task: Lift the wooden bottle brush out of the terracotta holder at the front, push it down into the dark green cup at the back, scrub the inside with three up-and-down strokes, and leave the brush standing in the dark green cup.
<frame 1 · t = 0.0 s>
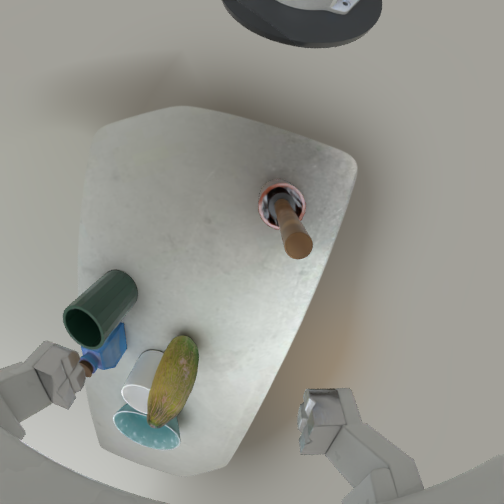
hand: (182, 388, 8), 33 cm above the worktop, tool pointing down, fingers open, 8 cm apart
brush: (278, 198, 38), point 1 cm above the worktop, touching holder
mug: (157, 369, 51), on the worktop
holder: (278, 197, 39), on the worktop
vegetable: (188, 337, 47), on the worktop
bowl: (155, 406, 55), on the worktop
perfume bottle: (112, 331, 48), on the worktop
cup: (119, 289, 45), on the worktop
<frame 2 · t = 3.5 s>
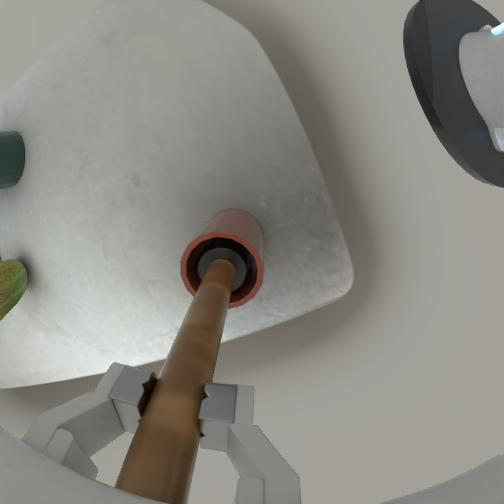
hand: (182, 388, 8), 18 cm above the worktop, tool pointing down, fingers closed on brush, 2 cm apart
brush: (232, 240, 25), point 1 cm above the worktop, touching gripper, holder
holder: (233, 238, 25), on the worktop
vegetable: (27, 270, 28), on the worktop
cup: (9, 159, 23), on the worktop
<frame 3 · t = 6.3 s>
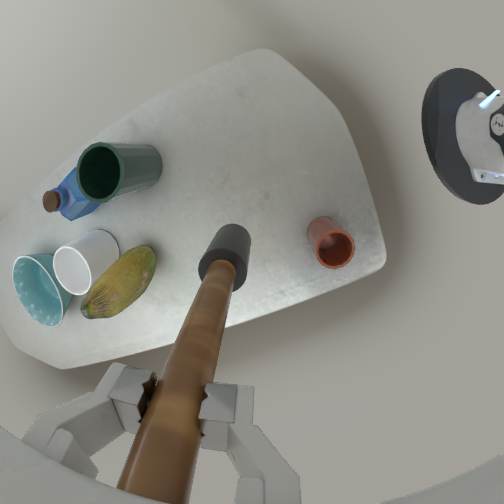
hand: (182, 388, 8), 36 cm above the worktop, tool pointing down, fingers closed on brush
brush: (232, 241, 25), point 19 cm above the worktop, touching gripper
mug: (96, 252, 46), on the worktop
holder: (323, 233, 43), on the worktop
vegetable: (152, 254, 46), on the worktop
bowl: (58, 276, 49), on the worktop
perfume bottle: (93, 189, 42), on the worktop
cup: (141, 166, 41), on the worktop
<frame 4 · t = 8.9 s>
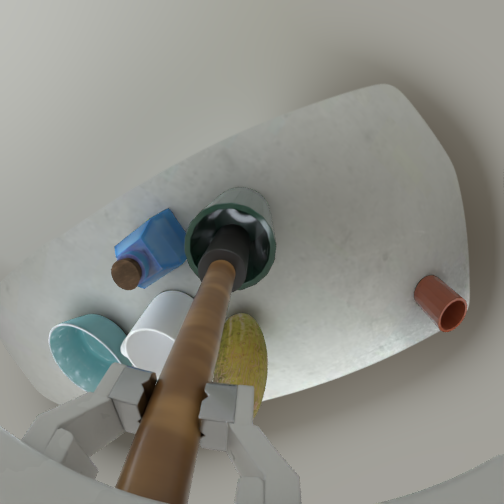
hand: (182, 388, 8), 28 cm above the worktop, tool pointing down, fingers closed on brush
brush: (232, 241, 25), point 11 cm above the worktop, touching gripper
mug: (167, 315, 40), on the worktop
holder: (427, 290, 37), on the worktop
vegetable: (246, 319, 40), on the worktop
bowl: (107, 337, 42), on the worktop
perfume bottle: (164, 239, 36), on the worktop
cup: (241, 216, 35), on the worktop
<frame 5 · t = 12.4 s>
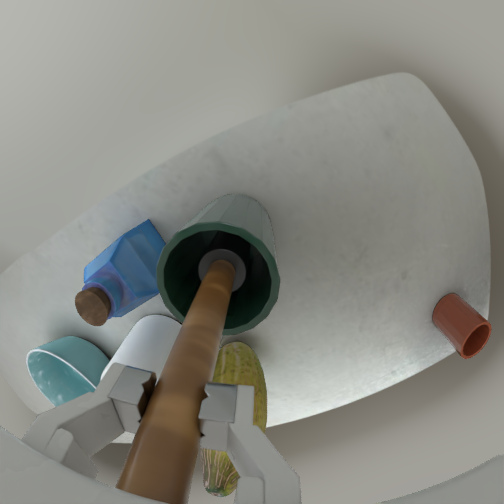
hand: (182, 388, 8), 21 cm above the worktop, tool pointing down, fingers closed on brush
brush: (232, 241, 25), point 4 cm above the worktop, touching gripper
mug: (152, 340, 34), on the worktop
holder: (446, 310, 31), on the worktop
vegetable: (243, 347, 33), on the worktop
bowl: (90, 359, 36), on the worktop
perfume bottle: (145, 256, 30), on the worktop
cup: (235, 229, 28), on the worktop
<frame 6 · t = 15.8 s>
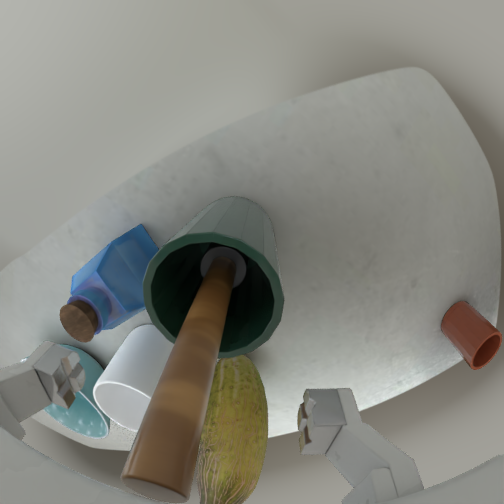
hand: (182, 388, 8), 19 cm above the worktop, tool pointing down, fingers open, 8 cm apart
brush: (233, 239, 25), point 1 cm above the worktop, touching cup
mug: (147, 351, 32), on the worktop
holder: (455, 318, 29), on the worktop
vegetable: (242, 359, 31), on the worktop
bowl: (84, 368, 34), on the worktop
perfume bottle: (138, 262, 28), on the worktop
cup: (234, 235, 26), on the worktop
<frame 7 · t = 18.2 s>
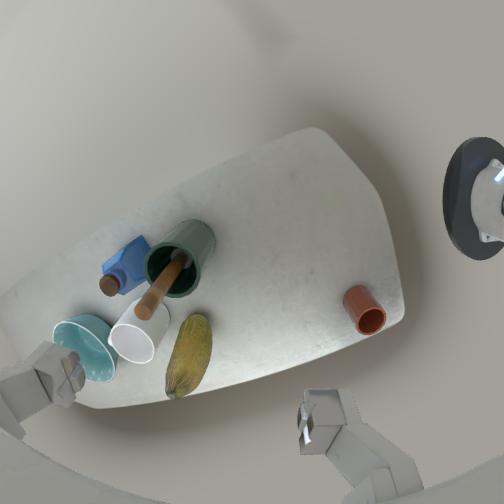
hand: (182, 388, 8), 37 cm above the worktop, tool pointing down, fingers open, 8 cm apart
brush: (192, 244, 45), point 1 cm above the worktop, touching cup
mug: (143, 315, 50), on the worktop
holder: (356, 299, 48), on the worktop
vegetable: (202, 319, 50), on the worktop
bowl: (98, 333, 52), on the worktop
perfume bottle: (139, 258, 47), on the worktop
cup: (193, 241, 45), on the worktop
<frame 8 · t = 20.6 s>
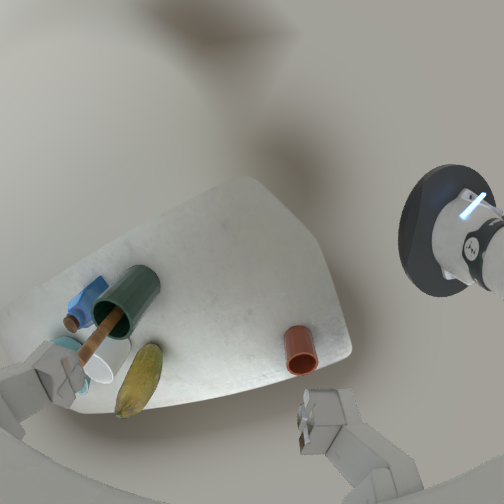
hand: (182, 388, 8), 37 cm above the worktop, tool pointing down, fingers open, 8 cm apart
brush: (140, 286, 48), point 1 cm above the worktop, touching cup
mug: (110, 340, 54), on the worktop
holder: (297, 337, 51), on the worktop
vegetable: (158, 347, 54), on the worktop
bowl: (77, 351, 56), on the worktop
perfume bottle: (101, 294, 50), on the worktop
cup: (142, 283, 49), on the worktop
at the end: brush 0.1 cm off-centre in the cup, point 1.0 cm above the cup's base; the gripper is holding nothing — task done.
